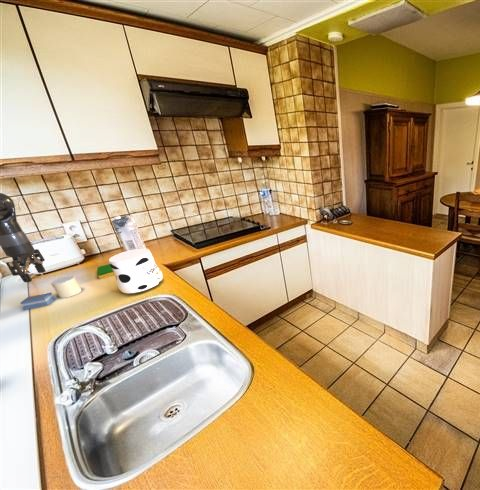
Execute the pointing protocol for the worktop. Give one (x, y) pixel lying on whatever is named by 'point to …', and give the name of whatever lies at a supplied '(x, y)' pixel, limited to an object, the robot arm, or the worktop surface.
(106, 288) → the worktop surface
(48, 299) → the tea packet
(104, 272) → the dish sponge
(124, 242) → the juice carton
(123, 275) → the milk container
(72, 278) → the yogurt pot
